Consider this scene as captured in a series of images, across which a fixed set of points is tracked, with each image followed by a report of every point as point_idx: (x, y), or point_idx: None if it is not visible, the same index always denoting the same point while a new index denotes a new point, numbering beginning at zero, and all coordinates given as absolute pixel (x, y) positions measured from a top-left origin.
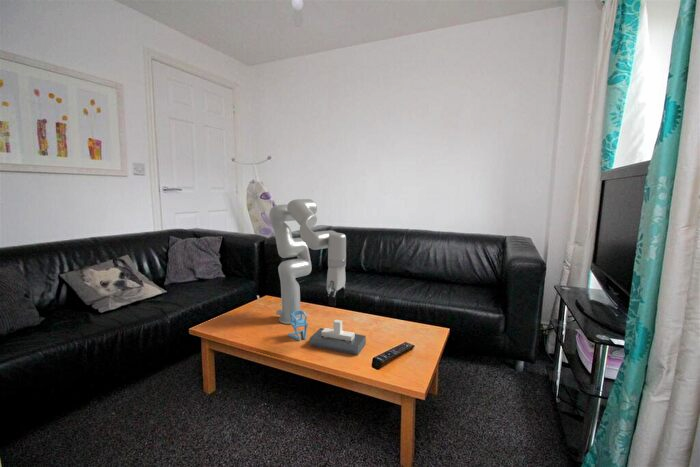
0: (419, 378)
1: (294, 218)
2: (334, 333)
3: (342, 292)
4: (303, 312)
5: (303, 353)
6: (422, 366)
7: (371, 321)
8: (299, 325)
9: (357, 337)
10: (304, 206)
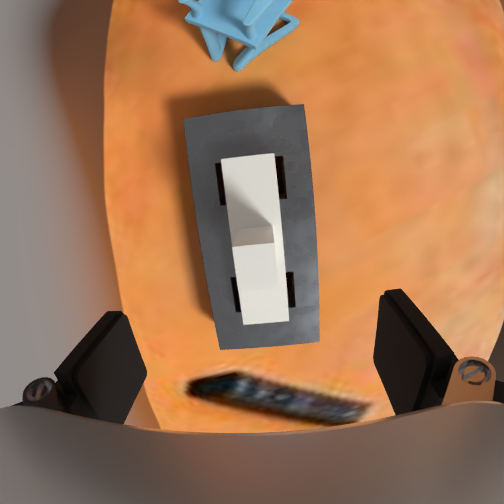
0: None
1: None
2: (234, 237)
3: (396, 391)
4: None
5: (134, 140)
6: None
7: (489, 255)
8: (207, 26)
9: (290, 320)
10: None
